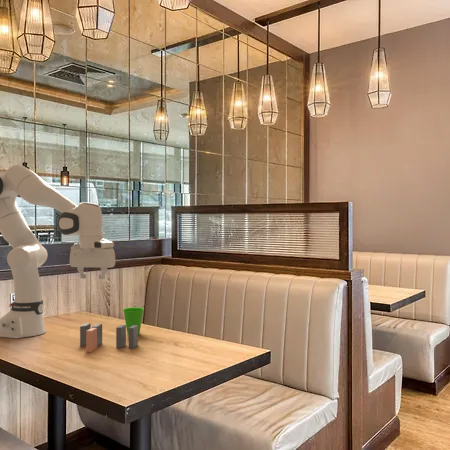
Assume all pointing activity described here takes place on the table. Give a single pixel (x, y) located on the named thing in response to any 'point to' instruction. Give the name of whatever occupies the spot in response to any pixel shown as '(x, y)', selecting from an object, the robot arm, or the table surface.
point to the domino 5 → (133, 336)
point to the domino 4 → (120, 336)
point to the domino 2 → (91, 339)
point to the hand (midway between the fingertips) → (92, 278)
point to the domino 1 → (84, 333)
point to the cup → (133, 317)
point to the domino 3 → (98, 333)
